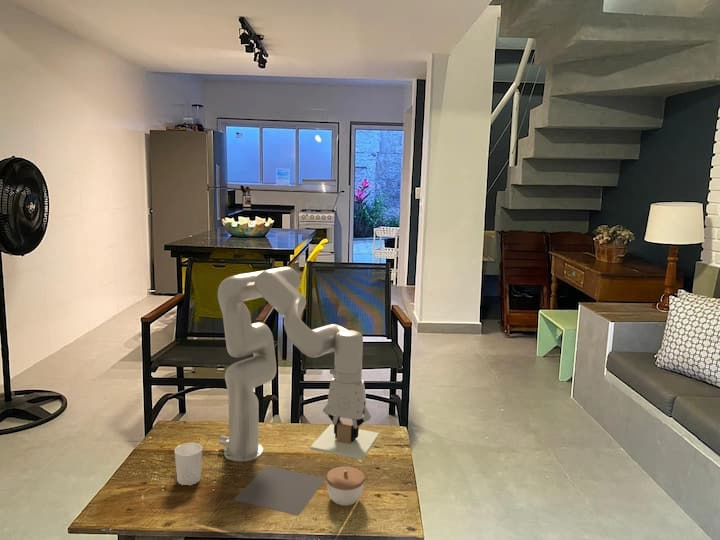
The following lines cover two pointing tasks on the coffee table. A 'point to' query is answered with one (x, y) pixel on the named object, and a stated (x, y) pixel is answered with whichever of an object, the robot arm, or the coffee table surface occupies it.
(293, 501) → the mat
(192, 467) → the white cup
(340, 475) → the lidded jar
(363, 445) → the lid sheet
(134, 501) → the coffee table surface
